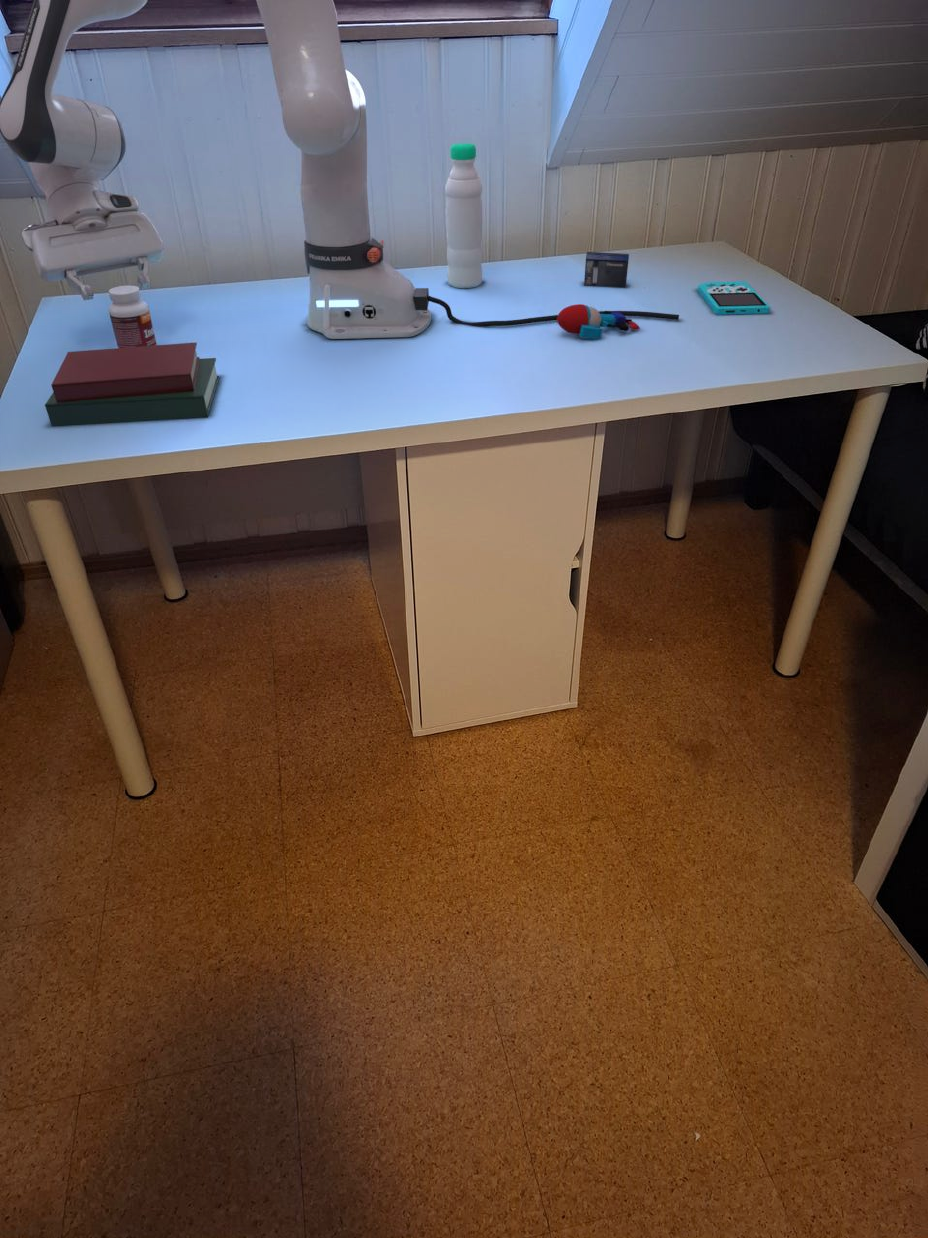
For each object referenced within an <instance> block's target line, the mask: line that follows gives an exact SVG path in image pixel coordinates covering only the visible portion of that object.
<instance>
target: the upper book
mask: <svg viewBox="0 0 928 1238" xmlns="http://www.w3.org/2000/svg"><path fill="white" fill-rule="evenodd" d="M197 344H198V343H197V342H196V341H195V342H185V343H171V344H170V343H169V344H159V345H158V344H157V345H155V346H141V347H128V348H118V347H116V348H101V349H90V350H89V349H88V350H76V351H74V350H73V351H68V352H67V353H66V355H65V357H64V359H63V361H62V363H61V365H60V367H59V369H58V371H57V372H56V375H55V377H54V379H53V381H52V382H51V389H52V393H53V392H54V395H55V398H56V402H68V401H80V400H92V399H104V398H117V397H129V396H141V395H153V394H166V393H178V392H190V391H194V389H195V383H196V377H197V372H198V366H199V360H200V359H201V358H200V356H198V354H197Z"/></svg>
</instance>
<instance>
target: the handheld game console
mask: <svg viewBox="0 0 928 1238" xmlns="http://www.w3.org/2000/svg"><path fill="white" fill-rule="evenodd" d="M697 292H698V293H699V295H700V296H701V297H702V298H703V300H704V301H705V303H707V305H708V306H709V307H710V309H711V310H712V311H713V312H714V314H715V315H718V316H722V315H723V316H725V315H762V314H763V315H765V314H770V311H771V306H770V305H769V304H768V303H767V302H766V301H765V300H764V298H763V297H762V296H760V295H759V294H758V292H757V291H756V290H754V288H753V287H752V286H751V285H750V284H749V283H748V282H747V281H744V280H740V281H739V280H738V281H737V280H736V281H733V280H732V281H707V282H702V283H699V284H698V286H697Z"/></svg>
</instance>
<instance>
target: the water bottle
mask: <svg viewBox="0 0 928 1238" xmlns="http://www.w3.org/2000/svg"><path fill="white" fill-rule="evenodd" d="M449 151H450V159H451V160H450V161H451V162H452V168H451V169H450V172H449V175H448V176H449V177H447V181H446V182H445V187H444V188H445V189H444V190H445V195H446V197H445V230H446V231H445V232H446V242H447V248H446V262H447V271H446V273H447V274H446V278H447V283H448V285H449V286H451V287H453V288H457V289H472V288H476V287H478V286H480V285H481V284H482V282H483V267H482V265H483V264H482V263H483V248H482V242H483V241H482V240H483V203H482V193H483V185H482V182H481V180H480V177H479V176H478V172H477V170H476V168H475V164H474V163H475V161H476V158H477V148H476V145H474V144H473V143H467V142H459V143H454V144H451V146H450V150H449Z"/></svg>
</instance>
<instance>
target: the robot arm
mask: <svg viewBox="0 0 928 1238" xmlns="http://www.w3.org/2000/svg"><path fill="white" fill-rule="evenodd" d="M255 1H256V4H257V8H258V11H259V15H260V18H261V21H262V24H263V28H264V31H265V35H266V40H267V44H268V48H269V49H268V50H269V53H270V54H269V55H270V60H271V65H272V72H273V76H274V82H275V86H276V91H277V95H278V99H279V104H280V108H281V115H282V124H283V128H284V131H285V133H286V135H287V137H288V138H289V140H290V141H291V143H292V144H293V145H294V146H295V147H296V148H298V149H299V150H300V151H301V175H300V176H301V177H300V200H301V207H302V217H303V224H304V232H305V233H304V234H305V239H304V241H303V244H304V246H303V247H304V249H303V250H304V251H303V252H304V253H303V254H304V261H305V267H306V271H307V274H308V278H309V300H308V310H307V311H308V312H307V317H306V326H307V327H308V328H310V329H311V330H313V331H315V332H318V333H321V334H322V335H323V336H324V337H325V338H327V339H328V340H329V339H330V340H350V339H353V340H354V339H384V338H411V337H412V338H413V337H415V336H418V335H420V334H421V333H423V332H424V331H426V330H427V328H429V326H430V324H431V322H432V313H431V311H430V309H429V302H430V303H433V304H436V305H440V306H441V307H443V309H445V313H446V317H447V318H448V320H449V321H450V322H452V323H454V324H457V325H465V326H469V327H470V326H471V327H477V328H485V327H486V328H487V327H508V326H509V327H511V326H520V325H526V324H527V325H528V324H535V323H536V324H537V323H545V322H551V321H552V322H553V321H557V317H558V314H553V315H544V316H535V317H529V318H519V319H511V320H510V319H509V320H487V321H475V322H472V321H471V322H468V321H463V320H460V319H459V318H457V317H455V316H453V313H452V308H451V307H450V305H449V304H448V303H447V302H445V301H444V300H442V299H440V298H437V297H435V296H434V297H433V296H430V291H429V288H428V287H415V286H414V284H413V282H412V281H411V280H410V279H409V278H408V277H406V276H405V275H403V274H402V273H400V272H399V271H398V270H397V269H395V268H394V267H393V266H391V264H389V263H387V262H386V261H385V260H384V249H383V248H384V240H382V239H381V241H378V240H376V239H375V238H374V237H373V236H371V226H370V213H369V212H370V211H369V210H370V209H369V198H368V134H367V133H368V131H367V129H368V127H367V105H366V104H367V103H366V96H365V93H364V90H363V88H362V86H361V84H360V81H358V79H357V78H356V77H355V76H354V75H353V74H352V73H351V72H350V71H348V70H347V69H346V65H345V61H344V54H343V49H342V43H341V38H340V30H339V24H338V14H337V10H336V6H335V2H334V0H255ZM147 2H148V0H33V3H32V5H31V8H30V9H31V10H30V12H29V16H28V20H27V23H26V27H25V30H24V33H23V37H22V41H21V43H20V46H19V47H20V49H19V51H18V54H17V58H16V62H15V65H14V68H13V71H12V75H11V77H10V80H9V83H8V84H7V86H6V88H5V90H4V92H3V94H2V96H1V98H0V135H1V137H2V139H3V140H4V142H5V143H6V145H7V147H9V148H10V149H11V150H12V152H13V153H14V154H15V155H16V156H17V157H18V158H19V159H21V161H24V162H26V163H28V165H29V168H30V170H31V173H32V176H33V178H34V180H35V182H36V184H37V186H38V188H39V189H40V190H41V191H42V192H43V193H44V195H45V198H46V204H47V207H48V209H49V212H50V214H51V216H52V219H53V220H48V221H44V222H40V223H30V224H27V225H26V227H25V228H23V229H22V231H21V233H20V236H21V240H22V242H23V244H24V246H25V247H26V248H27V249H28V250H29V251H30V252H31V253H32V257H33V260H34V261H33V262H34V264H35V267H36V270H37V272H38V275H39V277H40V278H41V279H42V280H44V281H46V282H47V283H52V282H58V281H64V280H66V282H67V284H68V286H70V287H71V288H73V289H74V290H76V291H77V292H78V293H79V294H80V295H81V297H82V299H83V301H90V300H93V299H94V291H93V290H92V287H91V284H84V283H83V282H81V280H79V279H78V278H80V277H86V276H91V275H96V274H103V273H108V272H112V271H120V270H124V269H130V268H136V267H137V268H138V271H139V272H141V271H142V273H141V274H138V275H137V284H138V285H139V289H141V290H145V289H146V290H147V289H151V285H152V283H151V280H150V278H149V275H148V272H149V265H151V264H157V263H160V262H161V261H163V257H164V254H165V245H164V242H163V240H162V238H161V236H160V234H159V232H158V230H157V229H156V227H155V225H154V224H153V222H152V221H151V219H150V218H149V217H148V216H147V215H146V214H145V213H144V212H142V211H140V207H139V206H140V205H139V202H138V200H137V198H136V197H134V196H132V195H127V194H121V193H120V194H119V193H113V192H108V191H104V190H101V188H100V186H99V183H100V181H104V180H105V179H106V178H107V177H108V176H110V174H112V173H113V171H114V170H115V169H116V168H117V167H118V166H119V165H120V164H121V162H122V161H123V158H124V156H125V154H126V150H127V144H126V137H125V134H124V133H125V132H124V130H123V126H122V124H121V121H120V120H119V118H118V116H117V115H116V114H115V112H114V111H113V110H112V109H111V108H109V107H108V106H106V105H102V104H99V103H96V102H91V101H89V100H85V99H80V98H73V97H70V96H66V95H61V94H58V93H54V89H55V85H56V82H57V79H58V77H59V73H60V69H61V65H62V63H63V60H64V56H65V53H66V49H67V46H68V43H69V42H70V39H71V38H72V36H73V35H75V33H76V32H77V31H78V30H80V29H81V28H82V27H86V26H88V25H91V24H93V23H98V22H104V21H114V20H120V19H123V18H127V17H130V16H132V15H134V14H136V13H137V12H139V11H140V10H141V9H142V8H143V7H144V6H145V5H146V4H147ZM604 311H605V310H598V312H599V313H600V314H602V313H603V312H604ZM610 311H611V312H619V313H621V314H623V315H624V316H625V317H638V318H639V317H640V318H641V317H642V318H652V319H653V318H655V319H662V320H674V321H679V320H680V319H679V318H680V314H675V313H663V312H654V311H641V310H639V311H638V310H610Z"/></svg>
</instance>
